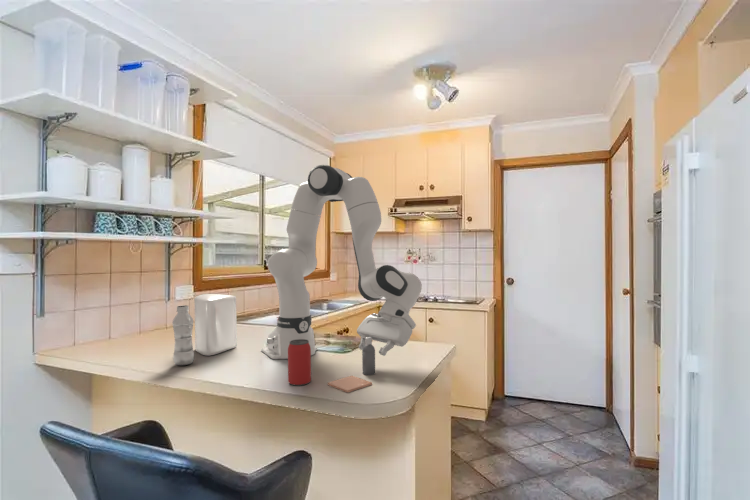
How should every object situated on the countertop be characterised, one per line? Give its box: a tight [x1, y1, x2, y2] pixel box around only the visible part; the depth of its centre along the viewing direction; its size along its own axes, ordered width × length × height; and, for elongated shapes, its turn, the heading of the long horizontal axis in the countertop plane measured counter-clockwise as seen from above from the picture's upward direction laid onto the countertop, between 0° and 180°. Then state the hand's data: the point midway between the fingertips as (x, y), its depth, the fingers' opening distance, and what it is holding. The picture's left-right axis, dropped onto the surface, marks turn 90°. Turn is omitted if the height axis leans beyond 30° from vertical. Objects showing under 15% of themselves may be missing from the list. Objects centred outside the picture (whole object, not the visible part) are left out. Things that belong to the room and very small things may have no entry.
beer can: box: [287, 339, 312, 386], centre depth 117 cm, size 7×7×12 cm
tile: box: [327, 375, 373, 393], centre depth 115 cm, size 9×9×1 cm
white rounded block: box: [193, 293, 238, 357], centre depth 156 cm, size 15×14×22 cm
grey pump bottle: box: [361, 337, 376, 376], centre depth 125 cm, size 4×4×11 cm
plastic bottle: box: [172, 304, 195, 366], centre depth 137 cm, size 6×7×20 cm
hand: (370, 351), depth 126 cm, fingers open, 8 cm apart
